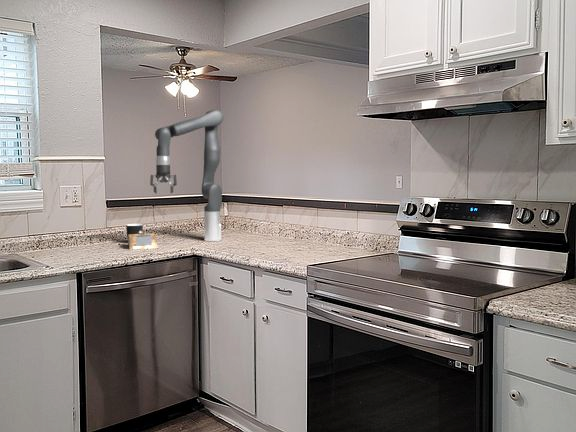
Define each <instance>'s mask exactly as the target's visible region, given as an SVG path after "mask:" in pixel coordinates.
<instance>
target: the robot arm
mask: <svg viewBox="0 0 576 432" xmlns="http://www.w3.org/2000/svg"><path fill="white" fill-rule="evenodd" d="M223 121H224V115H223V112H222V111H220V110H218V109H211V110H208V111H206V113H205V114H203V115H200V116H198V117H194V118H190V119H186V120H183V121H179V122H176V123H172V124H171V125H167V126H163V127H160V128H157V129H156V130H155V132H154V136H155V137H154V138H155V139H156V140H157V146H156V158H155V166H156V168H155V169H156V172H155V174H150V180H149V181H150V182H149V185H150V186H152V187H153V193H154V194H157V187H158V184H160V183H168V184H169V185H170V187H169V188H170V189H169V190H170V191H169V192H170V194H173V193H174V187H175V186H177V185H178V184H177V175H176V174H171V159H170V158H171V157H170V154H171V153H170V146H171V139H172V138H175V137H179V136H182V135H186V134H188V133H189V134H190V133H191V132H193V131H196V130H200V129H202V128H203V129H204V149H203V150H204V151H203V175H202V176H203V177H202V184H201V195H202V197H203V199H207V200H208V202H207V204H206V205H204V207H203V211H204V214H203V216H204V217H203V219H204V223H203V225H204V230H203V231H204V233H203V234H204V238H203V239H204V241H205V242H219V241H222V224H221V208H222V203H223V191H222V190H223V189H222V187H221V185H220V184H218V183H215V174H216V171H217V169H218V167H219V164H220V162H221V147H220V142H219V139H218V128H219V126H220V125H221V124H222V123H223ZM155 178H156V179H157V180H156V181H155V183H154V179H155ZM171 178H172V179H173V183H172V182H171V180H170V179H171Z"/></svg>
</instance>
